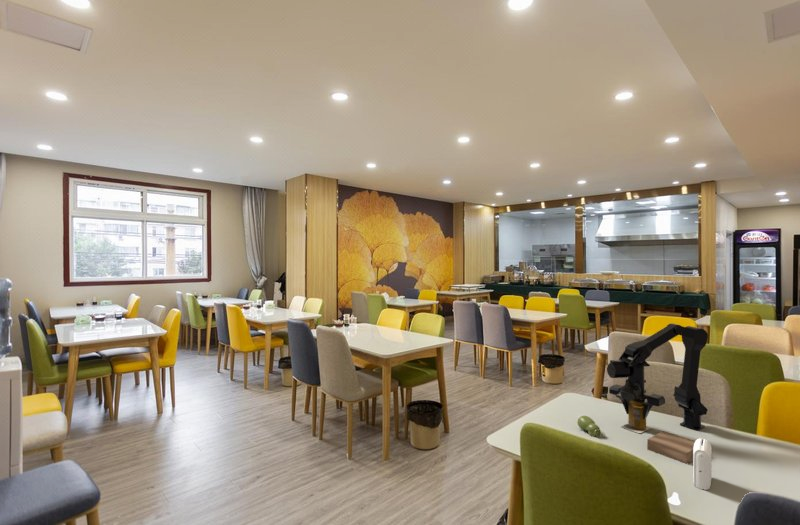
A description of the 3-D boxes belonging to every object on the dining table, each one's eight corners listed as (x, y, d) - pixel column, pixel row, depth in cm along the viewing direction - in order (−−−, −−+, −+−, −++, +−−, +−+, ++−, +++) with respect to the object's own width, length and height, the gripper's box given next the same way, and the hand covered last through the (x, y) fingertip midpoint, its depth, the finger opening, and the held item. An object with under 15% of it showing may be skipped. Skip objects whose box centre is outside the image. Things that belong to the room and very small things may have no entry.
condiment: (650, 428, 157) (650, 398, 157) (640, 433, 152) (639, 402, 152) (631, 422, 163) (631, 393, 163) (620, 427, 158) (620, 397, 158)
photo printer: (710, 492, 114) (710, 449, 114) (692, 486, 117) (692, 445, 117) (712, 477, 122) (712, 437, 122) (694, 472, 125) (694, 433, 125)
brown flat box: (663, 441, 147) (663, 430, 146) (701, 454, 137) (701, 443, 137) (647, 450, 140) (647, 439, 140) (686, 465, 130) (686, 453, 130)
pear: (587, 412, 159) (605, 426, 150) (585, 424, 160) (603, 439, 151) (575, 413, 158) (593, 428, 148) (573, 426, 159) (591, 441, 149)
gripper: (601, 375, 160) (601, 413, 160) (651, 387, 145) (652, 429, 145) (616, 370, 167) (616, 407, 167) (665, 381, 151) (665, 422, 151)
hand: (636, 416), depth 157 cm, fingers closed on condiment, 6 cm apart
